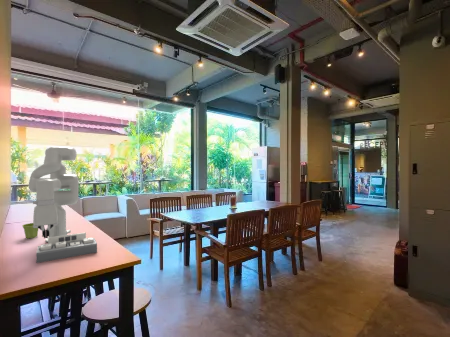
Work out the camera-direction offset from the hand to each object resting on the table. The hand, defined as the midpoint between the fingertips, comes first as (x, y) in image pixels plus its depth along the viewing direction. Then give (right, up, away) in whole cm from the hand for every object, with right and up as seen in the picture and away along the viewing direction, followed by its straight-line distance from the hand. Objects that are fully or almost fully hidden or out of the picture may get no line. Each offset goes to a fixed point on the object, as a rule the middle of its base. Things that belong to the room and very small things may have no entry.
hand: (45, 237), depth 130 cm
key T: (+16, -7, +11) cm, 21 cm away
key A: (0, -7, 0) cm, 7 cm away
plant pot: (-35, -10, +35) cm, 51 cm away
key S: (+5, -7, +4) cm, 10 cm away
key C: (+11, -8, +8) cm, 15 cm away
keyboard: (+8, -11, +6) cm, 14 cm away
